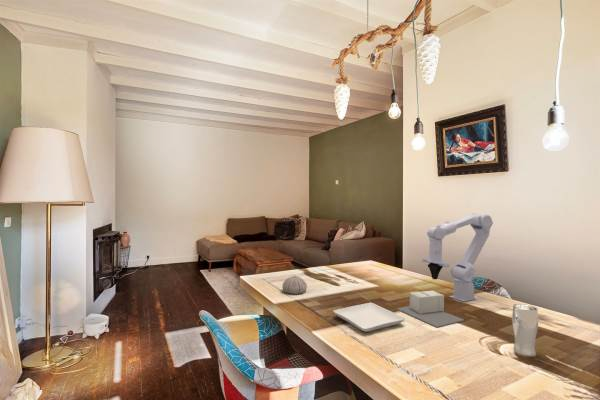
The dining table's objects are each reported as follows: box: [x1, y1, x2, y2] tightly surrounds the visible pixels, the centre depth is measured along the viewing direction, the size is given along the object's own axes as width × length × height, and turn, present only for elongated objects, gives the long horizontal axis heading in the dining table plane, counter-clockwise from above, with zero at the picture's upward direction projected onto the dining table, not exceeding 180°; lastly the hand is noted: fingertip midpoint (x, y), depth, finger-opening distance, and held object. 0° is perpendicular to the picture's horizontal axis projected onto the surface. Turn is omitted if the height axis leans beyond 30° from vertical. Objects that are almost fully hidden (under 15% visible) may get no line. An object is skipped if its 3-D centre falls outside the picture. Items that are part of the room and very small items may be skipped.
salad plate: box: [332, 302, 405, 333], centre depth 130 cm, size 21×21×3 cm
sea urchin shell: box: [281, 275, 308, 295], centre depth 170 cm, size 13×14×8 cm
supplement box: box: [409, 290, 445, 314], centre depth 142 cm, size 7×7×13 cm
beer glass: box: [511, 303, 539, 358], centre depth 105 cm, size 7×7×15 cm
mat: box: [396, 305, 465, 329], centre depth 137 cm, size 16×22×1 cm
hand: (434, 279), depth 157 cm, fingers closed
